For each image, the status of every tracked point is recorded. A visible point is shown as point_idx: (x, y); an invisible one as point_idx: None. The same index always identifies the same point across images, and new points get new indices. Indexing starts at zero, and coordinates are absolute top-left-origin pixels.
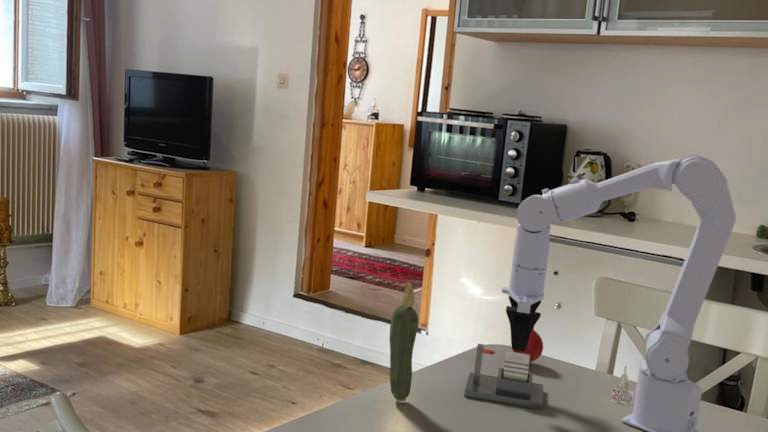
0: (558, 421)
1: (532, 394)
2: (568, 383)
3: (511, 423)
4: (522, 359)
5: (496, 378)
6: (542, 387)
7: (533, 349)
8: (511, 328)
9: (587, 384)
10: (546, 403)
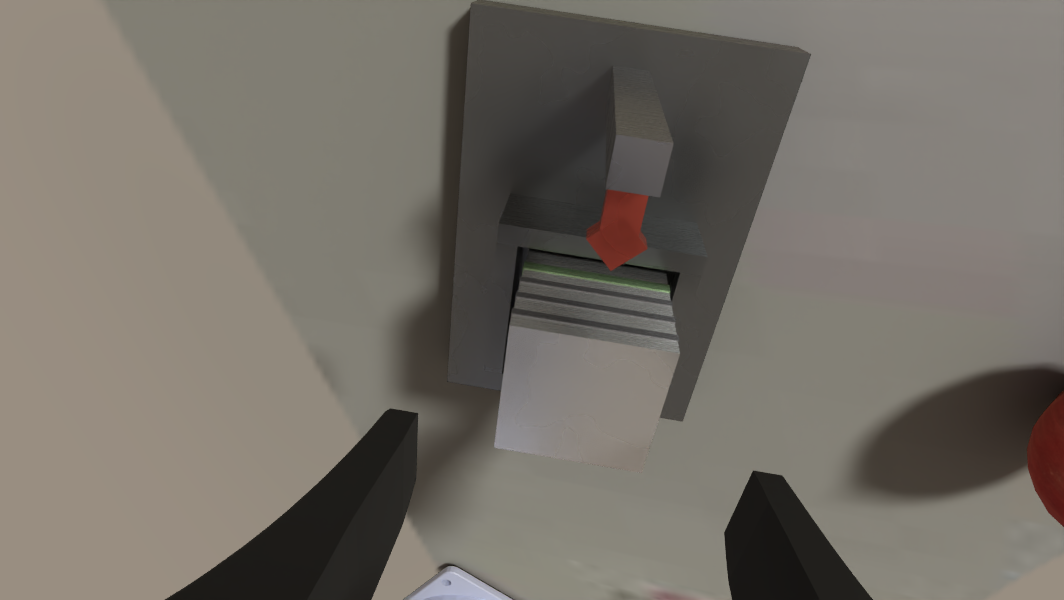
0: (369, 397)
1: None
2: None
3: (252, 224)
4: (526, 420)
5: (720, 217)
6: None
7: (1049, 488)
8: (254, 541)
9: None
10: None
